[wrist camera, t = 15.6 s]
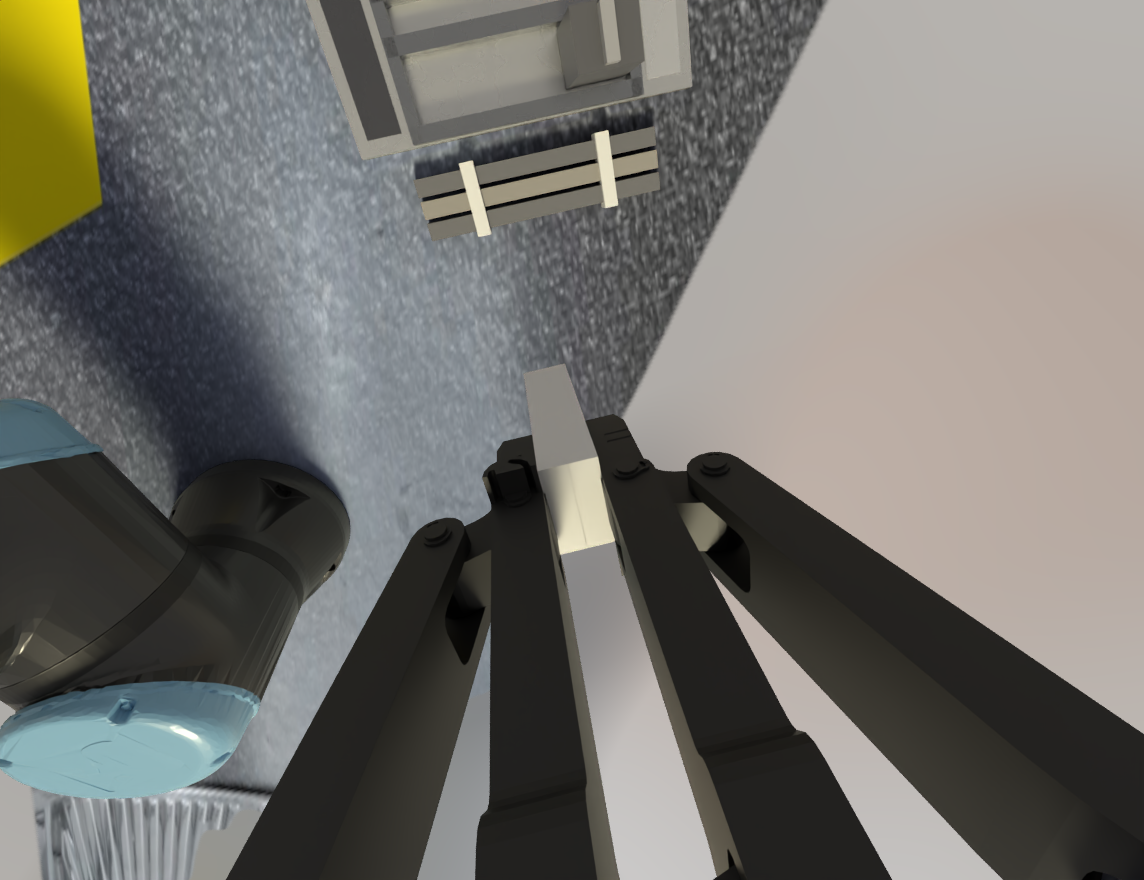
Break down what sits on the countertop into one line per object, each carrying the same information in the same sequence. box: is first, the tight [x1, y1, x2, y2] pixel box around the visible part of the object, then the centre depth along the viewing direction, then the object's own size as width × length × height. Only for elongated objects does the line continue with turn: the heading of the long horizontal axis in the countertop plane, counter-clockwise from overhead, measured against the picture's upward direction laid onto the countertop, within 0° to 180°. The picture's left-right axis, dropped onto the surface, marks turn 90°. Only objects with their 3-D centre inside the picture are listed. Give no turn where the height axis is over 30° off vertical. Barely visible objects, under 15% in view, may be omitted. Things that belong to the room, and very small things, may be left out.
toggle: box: [557, 0, 645, 90], centre depth 31 cm, size 4×3×7 cm
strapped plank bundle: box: [413, 127, 660, 241], centre depth 37 cm, size 18×5×2 cm, turn 101°
